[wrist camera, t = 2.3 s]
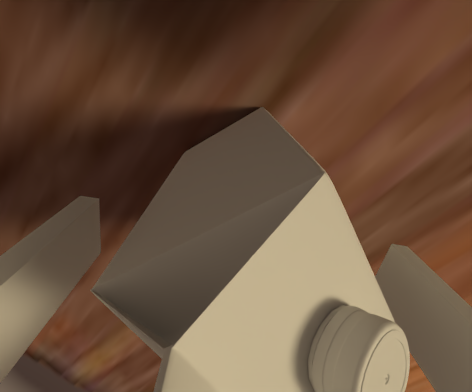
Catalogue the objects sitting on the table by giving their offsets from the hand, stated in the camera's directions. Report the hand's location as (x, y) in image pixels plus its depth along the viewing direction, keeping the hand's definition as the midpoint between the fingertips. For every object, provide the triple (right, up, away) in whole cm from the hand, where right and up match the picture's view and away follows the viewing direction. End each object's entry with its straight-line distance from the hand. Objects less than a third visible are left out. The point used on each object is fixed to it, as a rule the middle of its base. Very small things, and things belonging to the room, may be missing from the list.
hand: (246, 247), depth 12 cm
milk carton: (0, +5, +10) cm, 11 cm away
